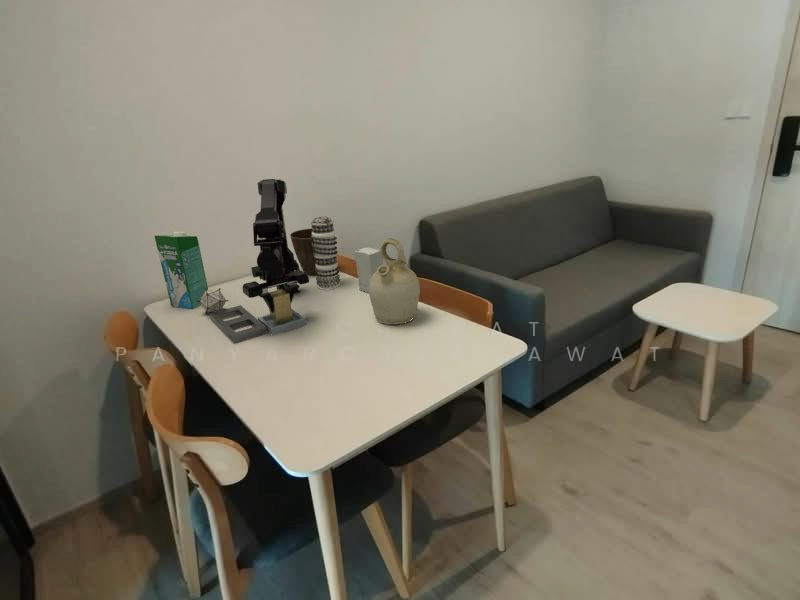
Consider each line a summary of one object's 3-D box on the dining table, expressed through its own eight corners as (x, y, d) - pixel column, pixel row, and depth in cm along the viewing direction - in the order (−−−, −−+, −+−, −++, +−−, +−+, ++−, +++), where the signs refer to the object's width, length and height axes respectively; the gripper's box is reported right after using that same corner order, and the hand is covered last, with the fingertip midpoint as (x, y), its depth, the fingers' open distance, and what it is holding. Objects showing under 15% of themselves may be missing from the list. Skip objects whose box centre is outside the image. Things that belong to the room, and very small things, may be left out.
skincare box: (386, 290, 171) (383, 250, 165) (373, 295, 167) (370, 254, 161) (370, 285, 177) (367, 245, 171) (357, 290, 173) (354, 249, 167)
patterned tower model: (311, 285, 179) (303, 218, 169) (332, 279, 184) (325, 214, 175) (324, 292, 172) (317, 222, 163) (346, 285, 178) (340, 217, 168)
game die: (223, 320, 163) (237, 294, 162) (210, 322, 154) (225, 295, 153) (201, 306, 163) (215, 280, 162) (187, 307, 155) (202, 280, 154)
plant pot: (337, 266, 199) (333, 227, 193) (328, 278, 185) (324, 238, 179) (301, 266, 200) (296, 228, 194) (290, 279, 187) (284, 238, 181)
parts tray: (291, 313, 156) (290, 308, 155) (306, 324, 148) (306, 318, 147) (258, 323, 150) (257, 317, 149) (272, 335, 142) (271, 329, 141)
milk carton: (210, 299, 171) (196, 229, 161) (192, 309, 163) (176, 236, 153) (189, 297, 174) (174, 228, 164) (171, 306, 166) (153, 235, 156)
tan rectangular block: (285, 314, 151) (282, 288, 148) (292, 319, 148) (289, 293, 144) (270, 318, 149) (266, 292, 145) (277, 324, 145) (273, 297, 142)
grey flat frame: (241, 310, 160) (240, 305, 159) (267, 333, 143) (266, 327, 142) (210, 319, 154) (209, 313, 154) (234, 343, 138) (232, 337, 137)
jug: (393, 332, 140) (388, 249, 130) (360, 317, 151) (354, 239, 141) (431, 316, 149) (429, 237, 140) (397, 303, 160) (394, 228, 151)
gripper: (290, 248, 152) (297, 294, 158) (231, 261, 142) (240, 310, 148) (306, 256, 144) (312, 304, 150) (245, 270, 134) (254, 321, 140)
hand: (280, 309), depth 147 cm, fingers closed on tan rectangular block, 5 cm apart
